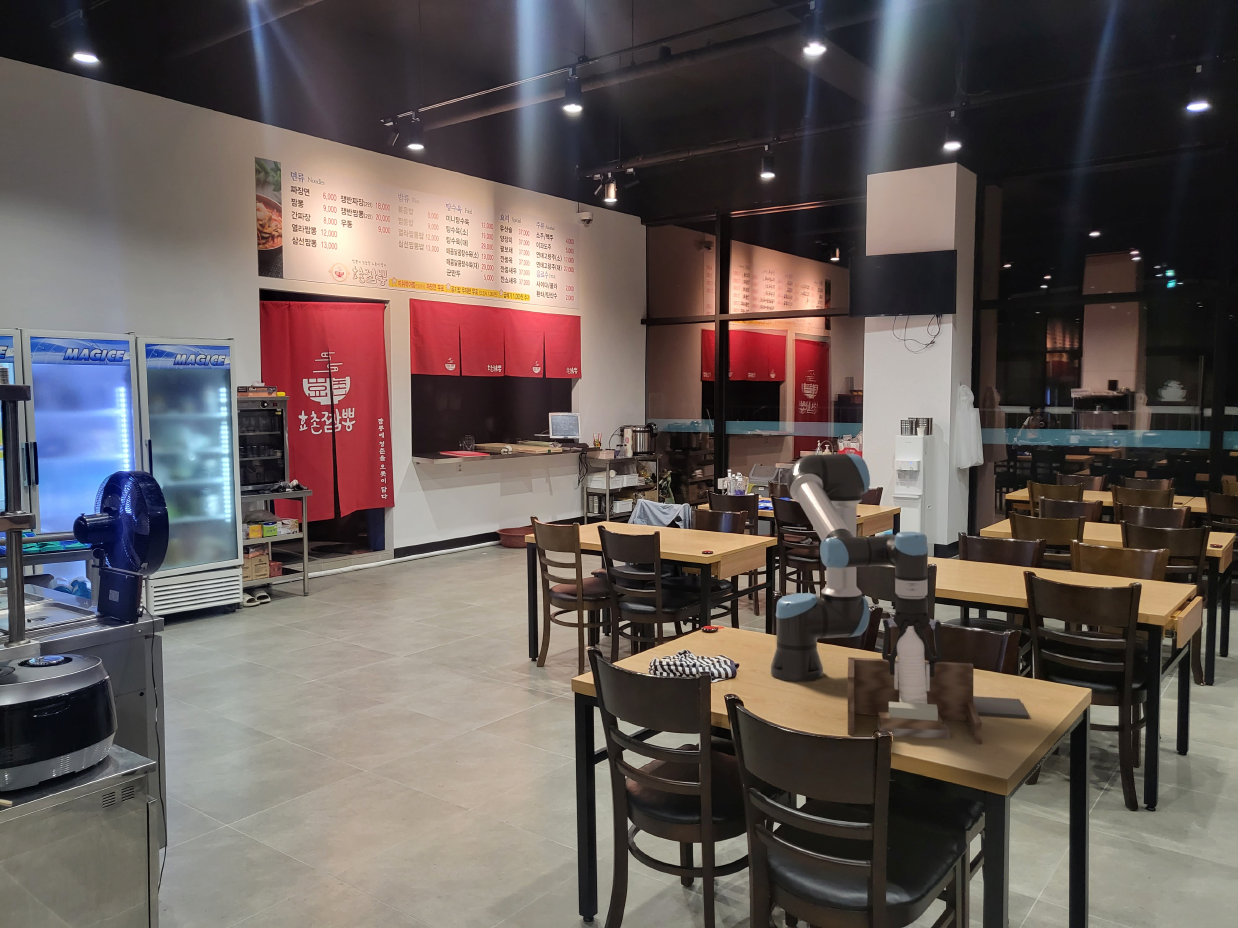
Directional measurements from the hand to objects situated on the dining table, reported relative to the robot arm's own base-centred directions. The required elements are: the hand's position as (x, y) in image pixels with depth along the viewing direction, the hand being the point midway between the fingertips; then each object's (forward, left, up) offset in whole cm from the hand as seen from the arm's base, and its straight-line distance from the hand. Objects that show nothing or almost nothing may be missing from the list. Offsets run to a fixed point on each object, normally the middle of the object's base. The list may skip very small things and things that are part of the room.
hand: (911, 688), depth 220 cm
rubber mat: (+22, +17, -9) cm, 29 cm away
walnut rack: (0, -1, -9) cm, 9 cm away
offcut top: (0, -7, -5) cm, 8 cm away
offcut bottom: (0, -6, -10) cm, 12 cm away
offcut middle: (-1, -6, -7) cm, 10 cm away
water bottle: (0, 0, -9) cm, 9 cm away
